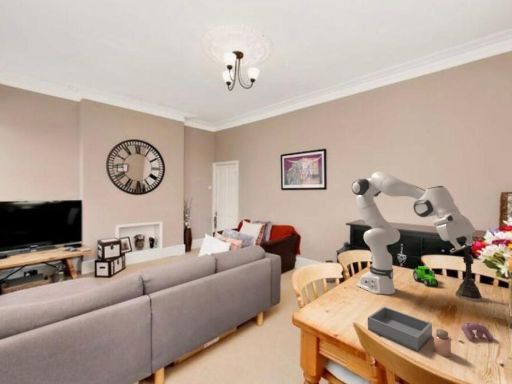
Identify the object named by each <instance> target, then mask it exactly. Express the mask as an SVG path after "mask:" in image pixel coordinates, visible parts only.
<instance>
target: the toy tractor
mask: <svg viewBox="0 0 512 384" xmlns="http://www.w3.org/2000/svg"><path fill="white" fill-rule="evenodd" d="M412 276H413V280H414V281H415V282H421V281H422V280H423V284H424V286H425V287H429V286H430V285H433V286H434V287H438V286H439V280H438V279H437V278H436V274H435V270H432V269H430V267H428V266H424V265H422V266H421V265H418V266H417V267H415V269H413V271H412Z"/></svg>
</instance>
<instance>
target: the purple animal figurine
mask: <svg viewBox="0 0 512 384" xmlns="http://www.w3.org/2000/svg"><path fill="white" fill-rule="evenodd" d="M460 327H461V330H462V332H463V334H464V336H465V337H466V339H467V340H468V341H469V342H473V341H474V338H476V337H477V338H479V339H483V337H484V336H485V338H486V339H488V340H489V341H490V342H494V340H495V339H494V336H493V335H492V334H491V332H490V331H489V329H488V328H487V327H486V325H484V324H482V323H479V322H475V321H474V322H473V321H470V322H466V323H463V324H461V325H460ZM474 331H475V332H474Z"/></svg>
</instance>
